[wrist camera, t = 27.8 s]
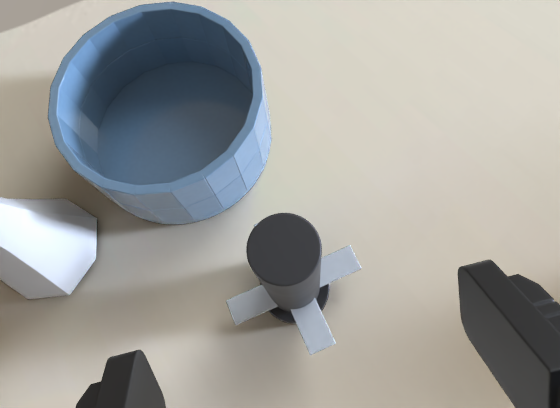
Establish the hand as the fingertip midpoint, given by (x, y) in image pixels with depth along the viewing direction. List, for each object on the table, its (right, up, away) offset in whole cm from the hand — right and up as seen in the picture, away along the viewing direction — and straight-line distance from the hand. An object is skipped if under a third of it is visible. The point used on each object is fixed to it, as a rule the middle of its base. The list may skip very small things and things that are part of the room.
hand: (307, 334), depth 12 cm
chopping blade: (0, -2, +20) cm, 20 cm away
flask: (-17, 0, +22) cm, 28 cm away
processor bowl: (-8, +8, +24) cm, 27 cm away
